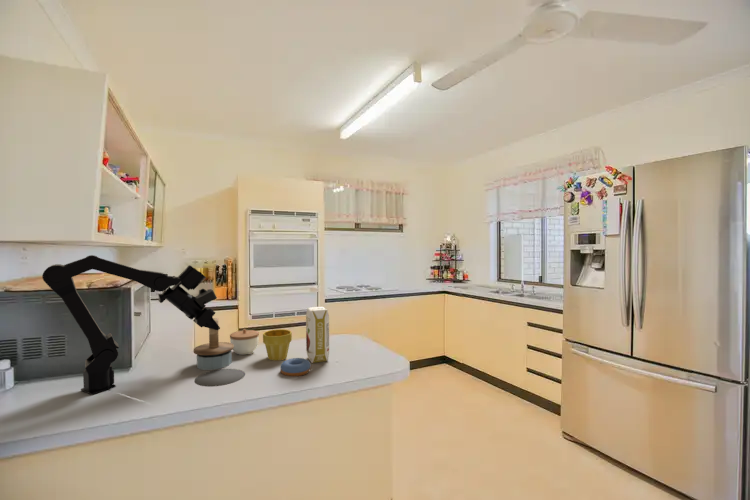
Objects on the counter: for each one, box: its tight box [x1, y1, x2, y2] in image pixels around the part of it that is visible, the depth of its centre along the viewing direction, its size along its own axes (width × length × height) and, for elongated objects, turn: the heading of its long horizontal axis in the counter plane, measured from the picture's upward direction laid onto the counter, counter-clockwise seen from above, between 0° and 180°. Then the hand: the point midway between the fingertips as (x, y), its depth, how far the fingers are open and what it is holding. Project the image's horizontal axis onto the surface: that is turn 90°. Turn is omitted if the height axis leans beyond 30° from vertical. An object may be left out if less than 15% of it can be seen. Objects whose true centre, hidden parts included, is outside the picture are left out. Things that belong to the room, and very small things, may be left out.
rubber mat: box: [194, 368, 246, 388], centre depth 118 cm, size 15×15×1 cm
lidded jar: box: [229, 328, 260, 356], centre depth 144 cm, size 11×11×9 cm
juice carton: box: [305, 306, 330, 364], centre depth 136 cm, size 8×9×19 cm
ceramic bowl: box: [196, 350, 233, 371], centre depth 130 cm, size 11×11×4 cm
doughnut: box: [280, 357, 312, 377], centre depth 123 cm, size 10×10×5 cm
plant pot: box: [262, 328, 293, 361], centre depth 137 cm, size 10×10×10 cm
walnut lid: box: [193, 317, 234, 356], centre depth 129 cm, size 13×13×11 cm
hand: (217, 328), depth 130 cm, fingers closed on walnut lid, 3 cm apart
